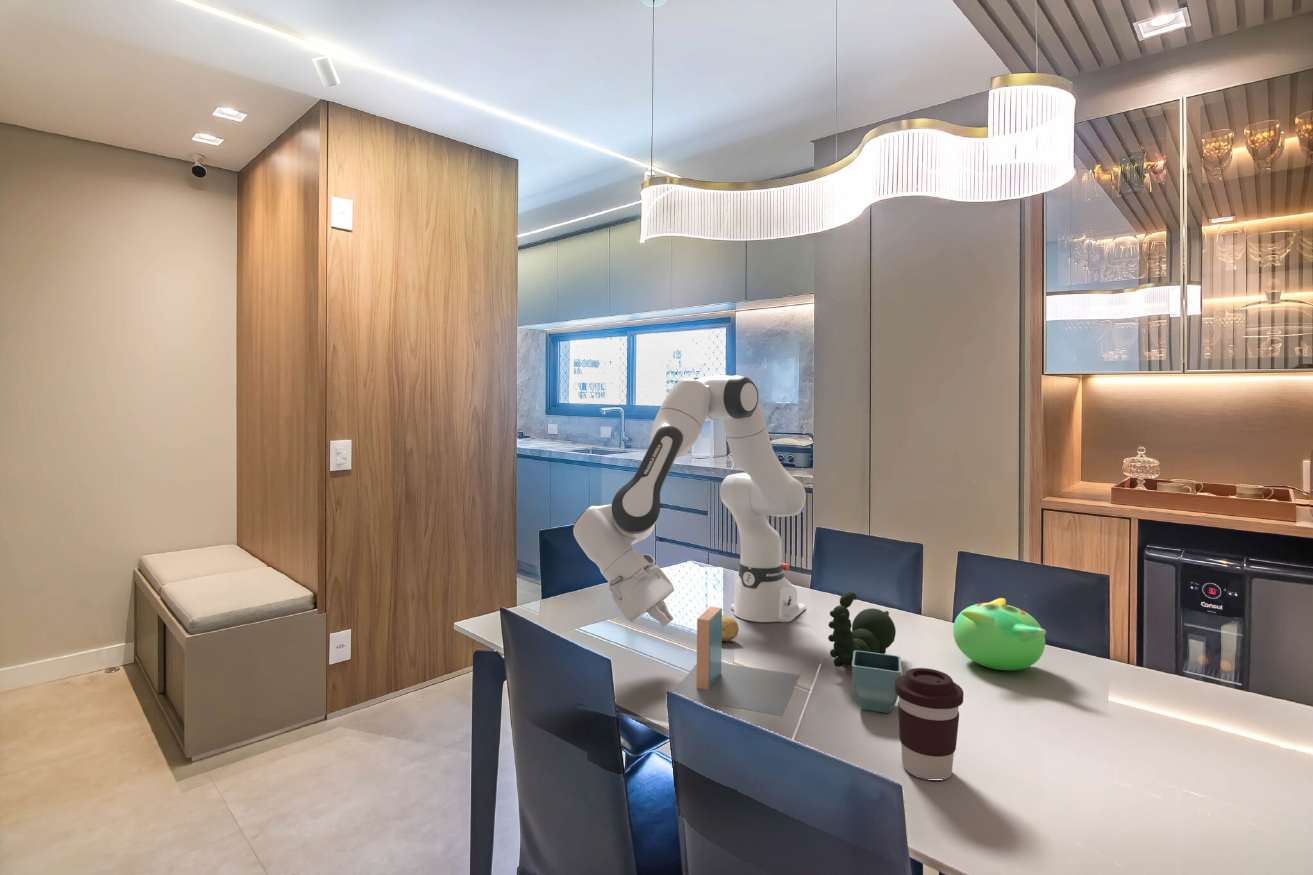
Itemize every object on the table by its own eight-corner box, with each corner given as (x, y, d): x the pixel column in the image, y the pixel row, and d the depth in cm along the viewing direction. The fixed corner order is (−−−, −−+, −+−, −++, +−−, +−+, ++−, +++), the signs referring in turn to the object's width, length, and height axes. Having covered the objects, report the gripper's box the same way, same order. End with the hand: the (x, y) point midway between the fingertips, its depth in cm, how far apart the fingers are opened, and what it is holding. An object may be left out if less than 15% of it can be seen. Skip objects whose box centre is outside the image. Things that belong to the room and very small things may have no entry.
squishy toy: (1039, 661, 148) (1041, 597, 147) (1049, 689, 133) (1051, 618, 132) (952, 648, 156) (954, 587, 155) (952, 673, 140) (953, 606, 140)
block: (696, 687, 131) (697, 618, 130) (709, 671, 139) (710, 606, 139) (709, 689, 130) (709, 620, 129) (721, 673, 138) (722, 607, 138)
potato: (726, 649, 154) (726, 623, 154) (691, 637, 162) (691, 612, 162) (743, 642, 159) (744, 616, 159) (708, 631, 167) (709, 607, 166)
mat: (669, 698, 127) (669, 695, 127) (700, 662, 146) (700, 659, 146) (781, 718, 119) (781, 715, 119) (799, 677, 138) (799, 674, 138)
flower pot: (899, 700, 127) (900, 655, 127) (900, 720, 119) (902, 672, 119) (852, 693, 130) (853, 649, 130) (850, 712, 122) (851, 665, 121)
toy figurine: (859, 692, 135) (908, 650, 153) (857, 604, 133) (906, 571, 151) (818, 679, 141) (869, 640, 159) (815, 594, 139) (868, 564, 157)
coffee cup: (882, 754, 107) (884, 664, 106) (940, 751, 108) (942, 662, 107) (911, 788, 97) (913, 690, 97) (974, 786, 98) (977, 688, 97)
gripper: (616, 573, 130) (661, 628, 127) (654, 553, 149) (694, 601, 146) (595, 593, 132) (639, 647, 129) (636, 571, 151) (675, 618, 148)
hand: (668, 622), depth 137 cm, fingers closed
